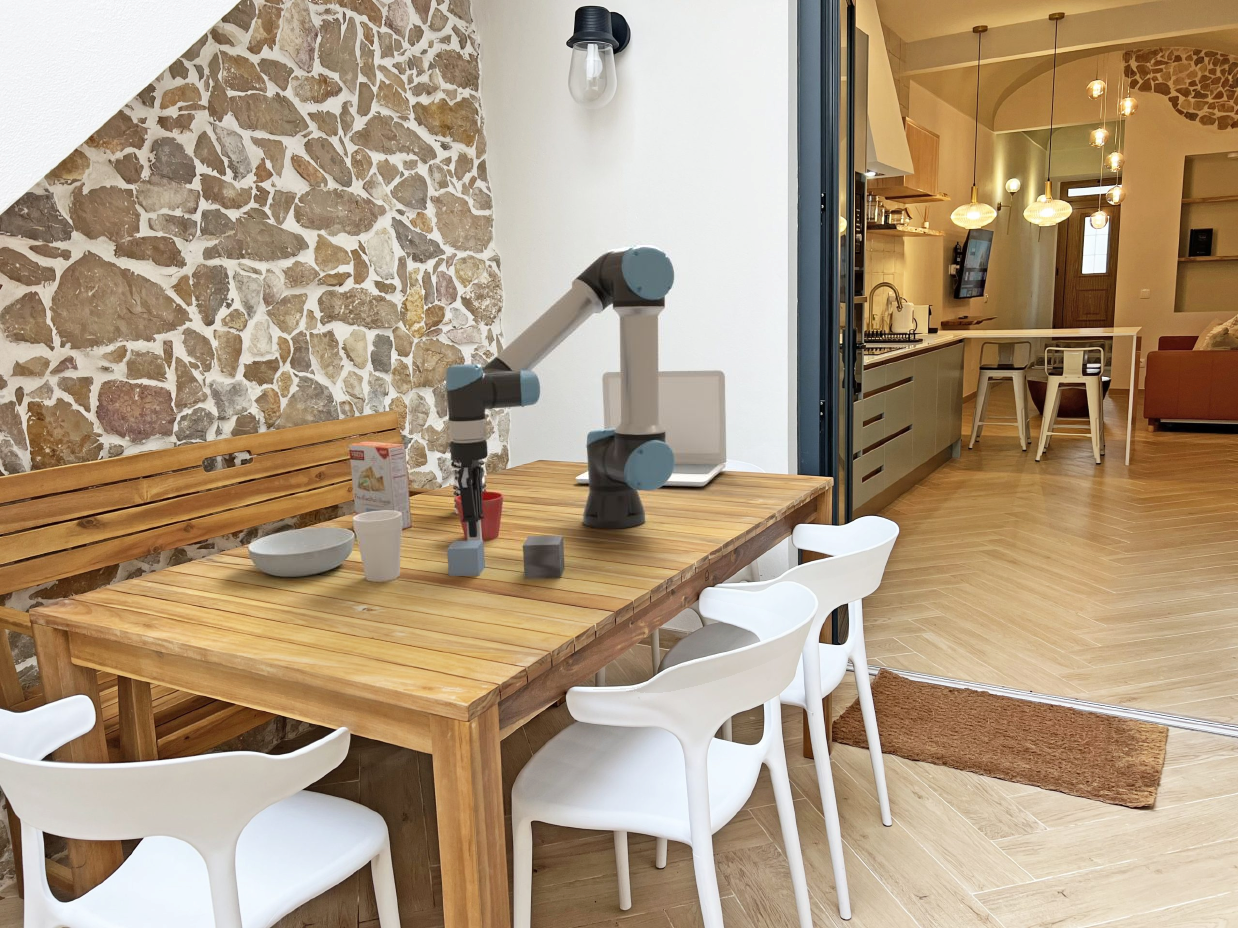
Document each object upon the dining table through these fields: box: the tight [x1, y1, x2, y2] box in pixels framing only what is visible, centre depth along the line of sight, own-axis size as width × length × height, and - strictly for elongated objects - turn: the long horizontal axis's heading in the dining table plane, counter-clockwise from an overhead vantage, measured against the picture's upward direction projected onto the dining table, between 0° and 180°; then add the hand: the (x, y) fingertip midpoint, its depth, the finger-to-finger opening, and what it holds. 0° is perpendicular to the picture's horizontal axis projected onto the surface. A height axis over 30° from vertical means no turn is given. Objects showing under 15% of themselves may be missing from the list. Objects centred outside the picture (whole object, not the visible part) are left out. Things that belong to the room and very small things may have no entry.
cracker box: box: [348, 440, 413, 531], centre depth 225 cm, size 14×6×21 cm, turn 57°
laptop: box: [575, 370, 727, 487], centre depth 277 cm, size 40×31×31 cm
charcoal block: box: [522, 535, 566, 580], centre depth 181 cm, size 7×7×7 cm
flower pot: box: [454, 491, 504, 541], centre depth 212 cm, size 11×11×10 cm
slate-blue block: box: [446, 540, 486, 577], centre depth 184 cm, size 6×6×6 cm
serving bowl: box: [247, 526, 356, 578], centre depth 190 cm, size 21×21×7 cm
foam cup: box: [352, 510, 403, 583], centre depth 181 cm, size 10×9×13 cm
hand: (475, 550), depth 193 cm, fingers closed
